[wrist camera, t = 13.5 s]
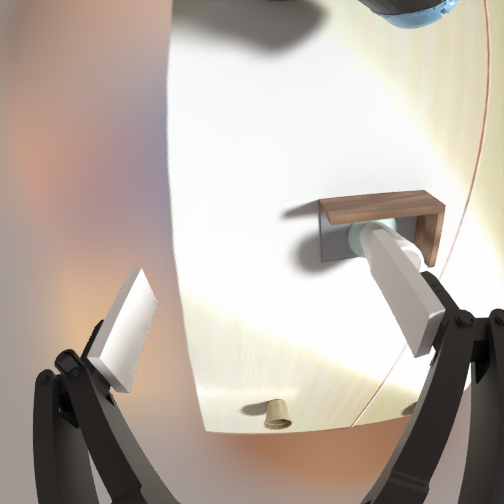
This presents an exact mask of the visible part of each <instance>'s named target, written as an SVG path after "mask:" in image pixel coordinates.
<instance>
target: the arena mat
mask: <svg viewBox="0 0 504 504" xmlns="http://www.w3.org/2000/svg"><path fill="white" fill-rule="evenodd" d="M320 221H321V258H322V262H327V261H334V260H341V259H348V258H355V257H363V258H366V255H365V253H364V250H363V248H362V245H361V242H360V232H361V230H362V228H363V227H364V226H365V225H366V224H367V223H369V222H371V221H364V222H356V223H347V224H339V225H330V223H329V221H328V219H327V218H326V216H325V214H324V213H323V211H322V209H321V208H320ZM373 221H381V222H382V223H384V224H386V225H387V226H388V227H390V228H391V229H393V230H394V231H395V232H397V233H398V234H399V235H401V236H402V237H403V238H405V239H406V240H408V241H410V242H411V243H413V244H414V237H415V230H416V222H417V216H409V217H400V218H391V219H382V220H373Z"/></svg>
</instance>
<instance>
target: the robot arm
mask: <svg viewBox="0 0 504 504" xmlns="http://www.w3.org/2000/svg"><path fill="white" fill-rule="evenodd" d="M271 1H289V0H271ZM358 1H360V2H361V3H363V4H364V5H366V6H367V7H368V8H370V10H371V11H372V12H374V13H376V14H377V15H379V16H382V17H383V18H384V19H386V20H387V21H389V22H390V23H391V24H393V25H395V26H397V27H399V28H403V29H415V28H419V27H423V26H426V25H429V24H431V23H433V22H435V21H437V20H439V19H440V18H442V15H443V14H445V13H448V12H450V11H451V10H452V9H453V8H454V6H455V5H456V3H457V0H358ZM370 272H371V273H372V275H373V277H374V279H375V281H376V282H377V284H378V286H379V288H380V290H381V291H382V293H383V295H384V297H385V299H386V301H387V303H388V305H389V306H390V308H391V310H392V312H393V314H394V316H395V318H396V320H397V322H398V324H399V326H400V328H401V330H402V332H403V334H404V336H405V338H406V340H407V342H408V344H409V347H410V349H411V351H412V353H413V355H414V357H415V358H417V357H420V356H423V355H426V354H429V352H430V350H431V347H432V345H433V347H434V349H435V351H436V352H435V355H434V357H433V359H432V361H431V364H430V366H431V367H430V370H429V372H428V375H427V378H426V381H425V383H424V386H423V389H422V391H421V394H420V396H419V399H418V401H417V404H416V406H415V408H414V411H413V413H412V415H411V418H410V420H409V422H408V424H407V426H406V428H405V430H404V433H403V435H402V437H401V439H400V441H399V443H398V445H397V447H396V448H395V450H394V452H393V454H392V456H391V458H390V459H389V461H388V463H387V465H386V467H385V468H384V470H383V472H382V473H381V475H380V476H379V478H378V480H377V481H376V483H375V484H374V486H373V487H372V489H371V490H370V491H369V492H368V494H367V495H366V496H365V498H364V499H363V501H362V502H361V504H423V502H424V500H425V499H426V496H427V494H428V491H429V482H430V479H431V477H432V475H433V473H434V471H435V469H436V466H437V464H438V462H439V460H440V457H441V455H442V452H443V450H444V448H445V445H446V443H447V440H448V437H449V435H450V432H451V429H452V426H453V423H454V420H455V417H456V414H457V411H458V408H459V404H460V401H461V397H462V394H463V390H464V386H465V382H466V378H467V374H468V369H469V364H470V362H471V419H470V433H469V443H468V451H467V458H466V465H465V471H464V476H463V482H462V486H461V491H460V495H459V500H458V504H504V310H503V309H494V310H493V311H491V313H490V315H489V317H488V318H475V317H474V316H473V315H472V314H471V313H470V312H468V311H466V310H460V309H459V308H458V306H457V305H456V303H455V302H454V301H453V299H452V298H451V297H450V295H449V294H448V292H447V291H446V290H445V288H444V287H443V286H442V285H441V283H440V282H439V280H438V279H437V278H436V277H435V276H434V275H433V274H431V273H430V272H428V271H425V272H421V273H419V271H418V270H417V269H416V267H415V266H414V265H413V263H412V262H411V261H410V259H409V258H408V257H407V256H406V254H405V253H404V252H403V250H402V249H401V248H400V247H399V245H398V244H397V243H396V242H395V241H394V239H393V238H392V237H391V236H390V234H389V233H388V232H387V231H386V230H385V229H381V230H375V231H372V255H371V271H370ZM157 305H158V302H157V300H156V298H155V296H154V294H153V292H152V290H151V288H150V286H149V283H148V281H147V279H146V277H145V275H144V272H143V270H142V268H139V269H133V270H130V272H129V274H128V276H127V277H126V279H125V281H124V283H123V285H122V287H121V288H120V291H119V292H118V294H117V296H116V298H115V300H114V302H113V304H112V306H111V308H110V310H109V312H108V314H107V316H106V318H105V320H101V321H100V322H99V323H98V324H97V325H96V326H95V328H94V330H93V333H92V335H91V336H90V338H89V341H88V343H87V345H86V347H85V349H84V351H83V353H82V355H81V357H80V358H79V356H78V355H77V354H76V353H75V351H74V350H72V349H67V350H65V351H62V352H61V353H60V354H59V355H58V356H57V358H56V360H55V367H56V368H57V369H58V370H59V372H60V373H61V374H58V375H55V374H54V373H53V372H52V371H51V370H49V369H46V370H44V371H42V372H41V373H40V374H39V375H38V377H37V378H36V382H35V395H34V411H33V452H34V470H35V480H36V489H37V497H38V503H39V504H99V501H98V497H97V493H96V489H95V485H94V480H93V476H92V471H91V466H90V460H89V454H88V450H89V452H90V455H91V457H92V460H93V462H94V464H95V466H96V469H97V471H98V473H99V475H100V477H101V479H102V481H103V483H104V485H105V487H106V489H107V491H108V493H109V495H110V497H111V499H112V503H111V504H180V503H179V502H178V501H177V500H176V499H175V498H174V497H173V495H172V494H171V493H170V491H169V490H168V488H167V487H166V486H165V484H164V483H163V482H162V480H161V479H160V477H159V476H158V474H157V473H156V471H155V470H154V468H153V467H152V465H151V464H150V462H149V461H148V459H147V457H146V456H145V454H144V453H143V451H142V449H141V448H140V446H139V444H138V443H137V441H136V439H135V438H134V436H133V434H132V432H131V431H130V429H129V427H128V425H127V423H126V421H125V419H124V418H123V416H122V414H121V412H120V410H119V408H118V406H117V404H116V402H115V400H114V398H113V395H112V394H111V393H110V392H109V390H110V387H111V386H112V387H113V388H114V389H115V391H117V392H123V393H130V389H131V386H132V383H133V379H134V376H135V372H136V369H137V366H138V363H139V359H140V356H141V353H142V350H143V347H144V344H145V340H146V338H147V335H148V332H149V329H150V326H151V323H152V320H153V317H154V314H155V311H156V309H157ZM59 409H60V412H59Z"/></svg>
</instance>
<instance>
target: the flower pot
mask: <svg viewBox="0 0 504 504" xmlns="http://www.w3.org/2000/svg"><path fill="white" fill-rule="evenodd" d="M292 424H293V422H292V420H291V418H290V417H289V414H288V410H287V406H286V402H285V401H283V400H280V399H278V400H272V401H270V402H268V404H267V414H266V420H265V423H264V427H265V428H267V429H271V430H281V429H285V428H288V427H290V426H291V425H292Z"/></svg>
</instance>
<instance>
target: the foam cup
mask: <svg viewBox="0 0 504 504" xmlns="http://www.w3.org/2000/svg"><path fill="white" fill-rule="evenodd" d="M381 229H385V230H386V231H387V232H388V233H389V234H390V236H391V237H392V238H393V239H394V241H395V242H396V243H397V244H398V245H399V247H400V248H401V249H402V250H403V252H404V253H405V254H406V256H407V257H408V258H409V259H410V261H411V262H412V263H413V265H414V266H415V267H416V269H417V270H418V271H419V273H421V272H422V270H423V265H424V258H423V256H422V254H421V251H420V250H419V249H418V248H417V247H416V246H415V245H414V244H413V243H411V242H410V241H408V240H406V239H405V238H403V237H402V236H401V235H399V234H398V233H397V232H395V231H394V230H393V229H391V228H390V227H388V226H387V225H386V224H384V223H382V222H381V221H371V222H369V223H367V224H366V225H365V226H364V227H363V228H362V230H361V232H360V242H361V245H362V248H363V250H364V253H365V255H366V258H367V260H368V263H369V266H370V269H371V255H372V231H375V230H381ZM372 276H373V275H372ZM373 278H374V277H373ZM374 280H375V279H374ZM376 283H377V282H376ZM377 285H378V284H377Z"/></svg>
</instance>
